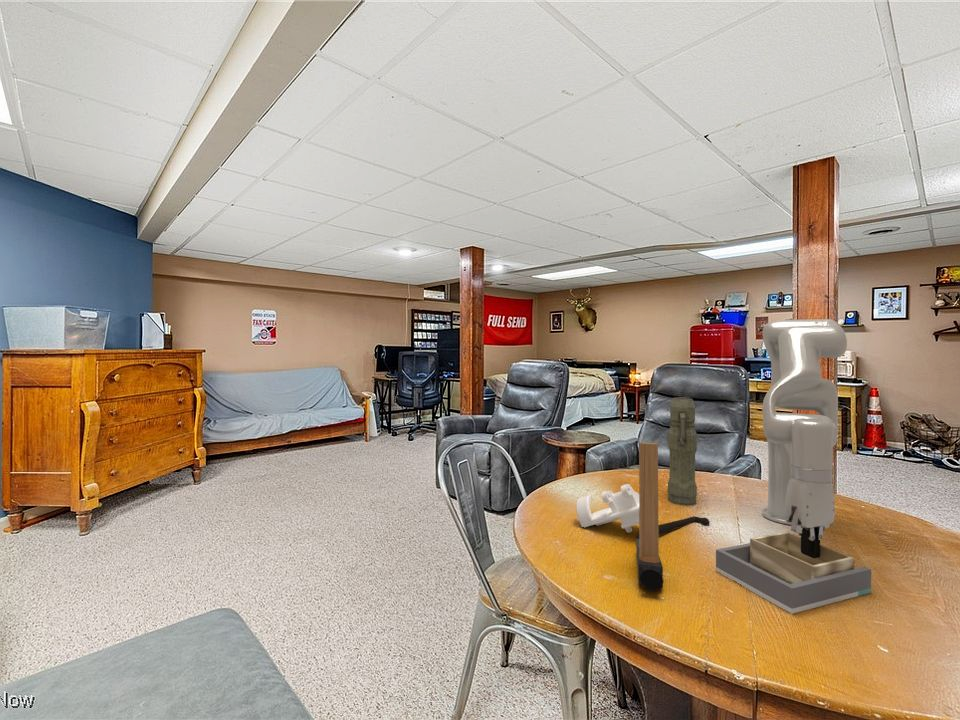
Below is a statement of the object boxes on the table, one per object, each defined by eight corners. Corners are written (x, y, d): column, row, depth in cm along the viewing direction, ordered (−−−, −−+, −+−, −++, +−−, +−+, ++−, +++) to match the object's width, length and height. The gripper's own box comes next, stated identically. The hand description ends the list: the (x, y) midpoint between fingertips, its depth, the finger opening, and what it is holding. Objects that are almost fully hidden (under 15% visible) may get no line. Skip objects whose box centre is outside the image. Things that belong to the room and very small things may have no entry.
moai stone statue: (693, 496, 157) (694, 396, 156) (699, 508, 146) (700, 399, 145) (666, 494, 159) (666, 395, 159) (669, 505, 148) (670, 399, 147)
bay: (787, 555, 112) (788, 535, 112) (870, 592, 95) (871, 569, 95) (715, 570, 104) (715, 549, 104) (791, 613, 87) (792, 588, 87)
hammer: (636, 563, 113) (636, 441, 117) (657, 566, 111) (656, 442, 116) (638, 589, 94) (638, 442, 99) (664, 592, 92) (663, 444, 97)
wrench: (711, 532, 132) (651, 552, 114) (694, 527, 136) (633, 546, 118) (710, 514, 132) (651, 531, 114) (693, 510, 136) (633, 526, 118)
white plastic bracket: (588, 548, 128) (569, 503, 131) (603, 534, 137) (584, 493, 140) (653, 530, 117) (630, 482, 120) (665, 517, 126) (643, 472, 130)
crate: (787, 555, 109) (787, 531, 109) (853, 584, 96) (854, 558, 96) (749, 562, 106) (750, 538, 105) (813, 594, 92) (814, 567, 92)
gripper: (817, 467, 107) (816, 543, 108) (771, 473, 102) (770, 553, 103) (852, 475, 100) (851, 557, 101) (804, 482, 95) (803, 568, 96)
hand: (810, 555), depth 102 cm, fingers closed
